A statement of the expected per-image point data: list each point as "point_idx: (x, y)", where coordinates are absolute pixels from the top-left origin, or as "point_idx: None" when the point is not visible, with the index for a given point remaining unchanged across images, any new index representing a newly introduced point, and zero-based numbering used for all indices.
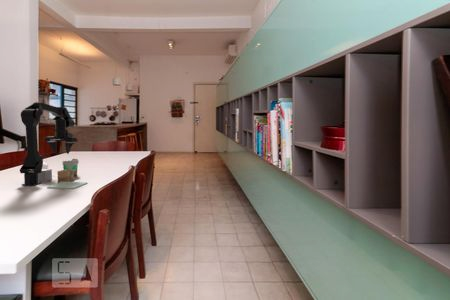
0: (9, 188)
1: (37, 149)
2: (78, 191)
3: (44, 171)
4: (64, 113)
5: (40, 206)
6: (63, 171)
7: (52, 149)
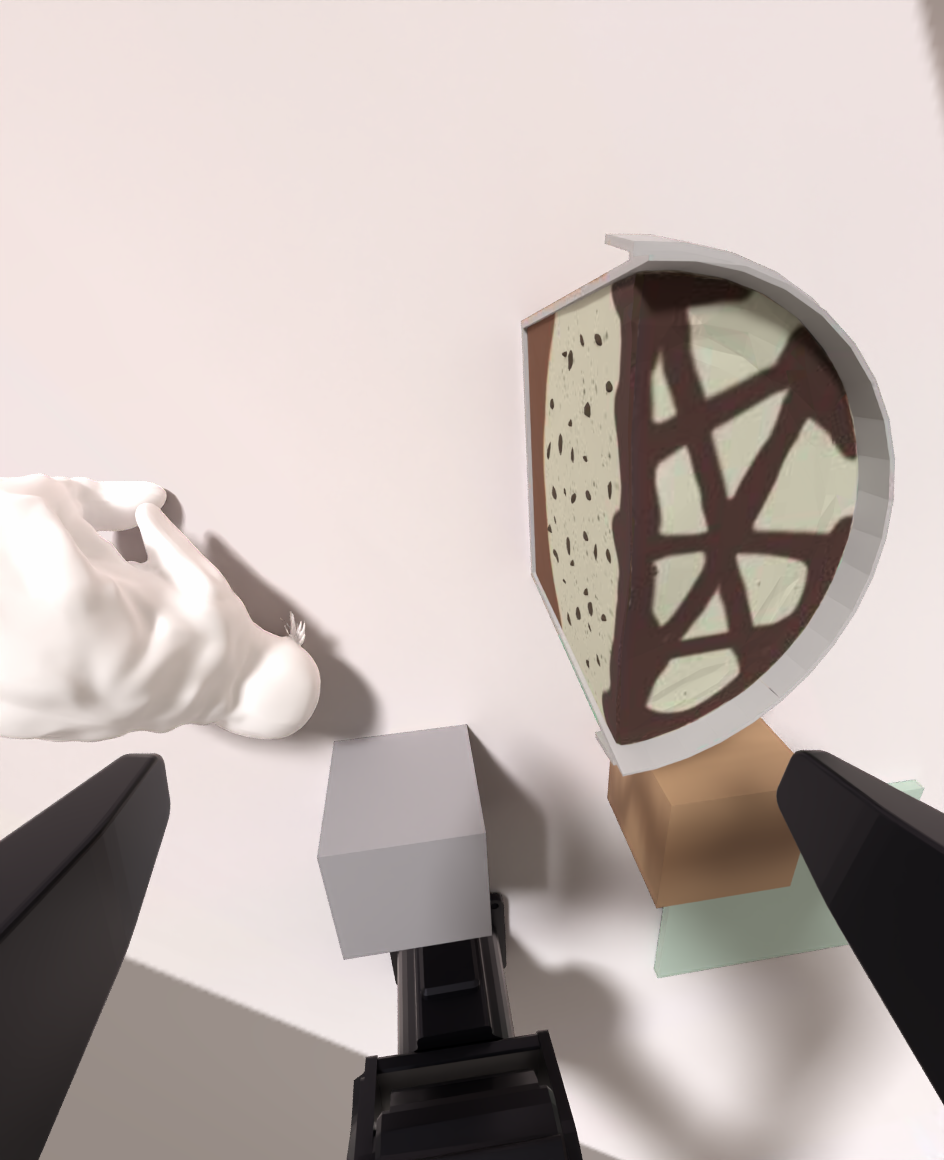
0: (390, 1041)
1: None
2: None
3: (479, 929)
4: None
5: (801, 1137)
6: (733, 892)
7: (37, 1070)
